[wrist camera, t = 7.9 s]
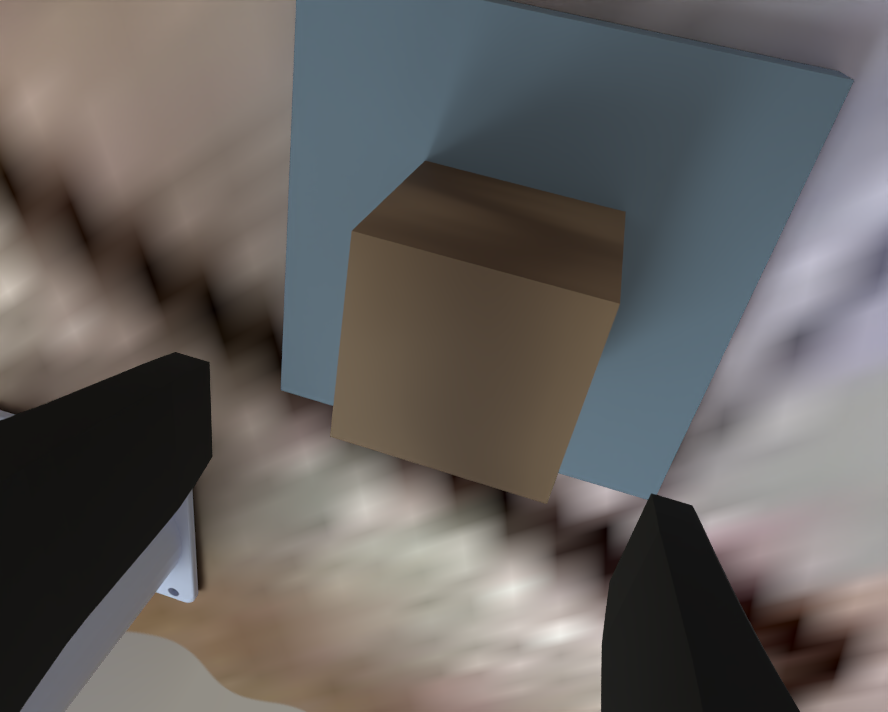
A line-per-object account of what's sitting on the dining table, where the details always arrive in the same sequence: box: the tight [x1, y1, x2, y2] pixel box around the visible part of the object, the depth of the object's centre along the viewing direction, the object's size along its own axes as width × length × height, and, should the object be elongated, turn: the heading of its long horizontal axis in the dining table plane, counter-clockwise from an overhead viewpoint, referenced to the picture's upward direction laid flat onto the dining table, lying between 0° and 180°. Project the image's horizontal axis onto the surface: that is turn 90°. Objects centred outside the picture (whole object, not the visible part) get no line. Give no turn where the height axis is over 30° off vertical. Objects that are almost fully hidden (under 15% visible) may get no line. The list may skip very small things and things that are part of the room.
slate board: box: [281, 0, 854, 500], centre depth 18 cm, size 12×12×1 cm
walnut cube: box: [330, 161, 626, 504], centre depth 15 cm, size 5×5×5 cm
